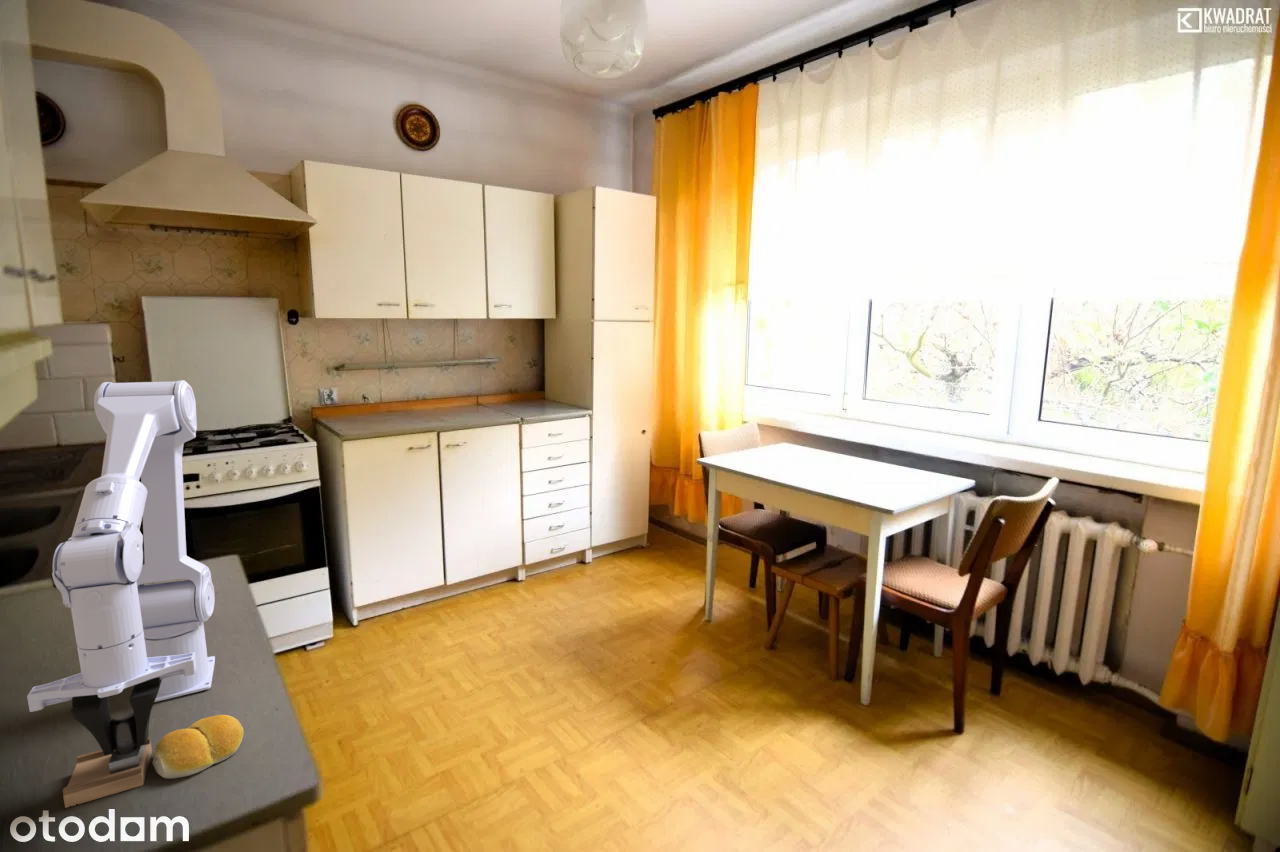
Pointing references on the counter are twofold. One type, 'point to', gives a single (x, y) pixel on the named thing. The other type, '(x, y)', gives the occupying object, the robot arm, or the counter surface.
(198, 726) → the bread roll
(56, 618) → the counter surface
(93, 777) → the press bed
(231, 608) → the counter surface
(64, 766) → the counter surface
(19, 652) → the counter surface
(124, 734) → the jaw
